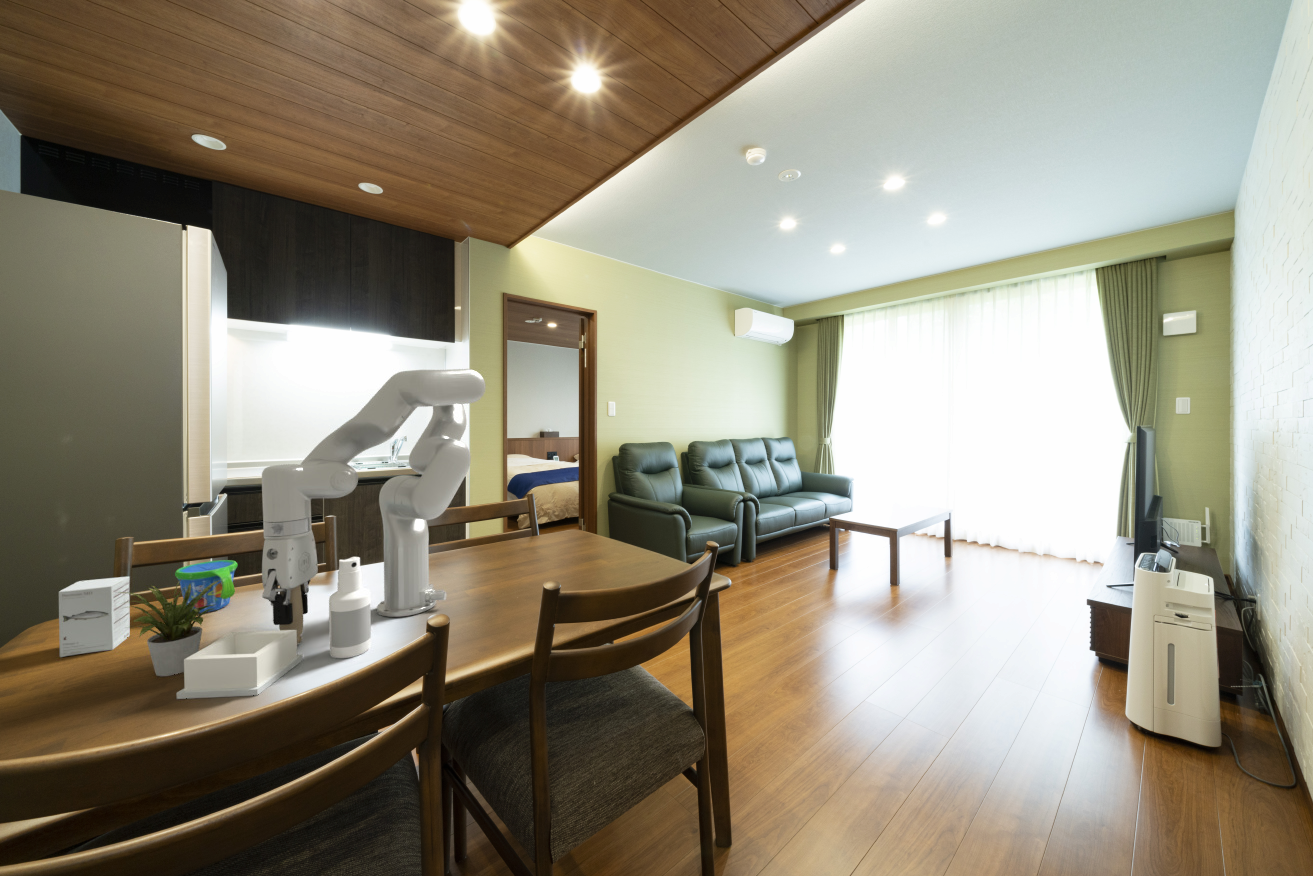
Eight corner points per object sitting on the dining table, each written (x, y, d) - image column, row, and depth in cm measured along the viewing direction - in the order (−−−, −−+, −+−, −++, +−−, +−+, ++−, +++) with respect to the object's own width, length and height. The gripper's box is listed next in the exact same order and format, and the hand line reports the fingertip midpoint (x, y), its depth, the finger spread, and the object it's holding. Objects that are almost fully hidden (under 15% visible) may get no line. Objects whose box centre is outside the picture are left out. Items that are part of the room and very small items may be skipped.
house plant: (83, 701, 78) (80, 599, 77) (134, 661, 90) (131, 573, 90) (199, 682, 83) (197, 587, 83) (231, 647, 96) (230, 565, 95)
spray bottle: (340, 662, 91) (339, 566, 90) (322, 653, 94) (321, 560, 94) (378, 648, 96) (377, 557, 96) (359, 639, 100) (358, 552, 99)
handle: (312, 635, 101) (310, 564, 100) (299, 650, 95) (296, 573, 94) (285, 638, 100) (282, 566, 99) (270, 653, 94) (267, 576, 93)
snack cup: (163, 610, 114) (162, 567, 114) (219, 595, 124) (218, 556, 123) (194, 623, 107) (193, 577, 107) (251, 606, 117) (251, 564, 116)
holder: (302, 659, 92) (302, 627, 91) (257, 695, 80) (256, 659, 80) (233, 662, 90) (232, 630, 90) (176, 698, 78) (175, 662, 78)
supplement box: (57, 658, 91) (55, 591, 91) (80, 642, 98) (78, 580, 97) (113, 650, 95) (111, 585, 94) (132, 635, 101) (130, 574, 101)
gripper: (280, 537, 88) (284, 637, 89) (332, 518, 105) (334, 602, 106) (235, 538, 88) (239, 639, 88) (294, 518, 104) (297, 603, 105)
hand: (291, 617), depth 97 cm, fingers closed on handle, 4 cm apart
